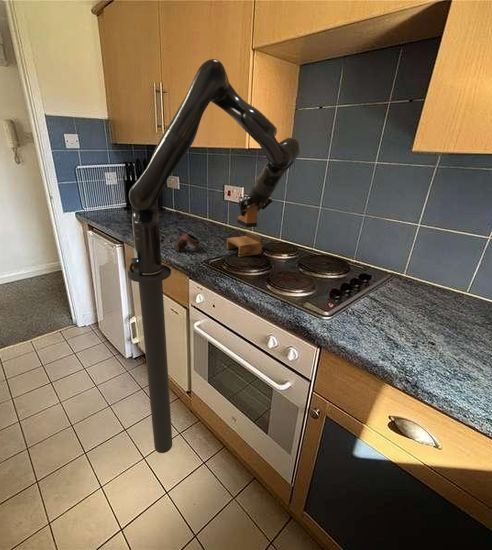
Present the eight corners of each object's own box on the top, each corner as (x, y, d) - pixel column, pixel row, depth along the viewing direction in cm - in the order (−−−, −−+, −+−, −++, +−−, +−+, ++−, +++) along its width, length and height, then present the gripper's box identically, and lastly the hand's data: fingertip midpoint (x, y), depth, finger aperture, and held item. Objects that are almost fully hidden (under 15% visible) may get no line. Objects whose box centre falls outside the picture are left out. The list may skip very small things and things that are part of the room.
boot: (256, 226, 123) (258, 201, 119) (246, 227, 121) (247, 202, 117) (247, 221, 130) (248, 198, 126) (237, 222, 129) (238, 198, 125)
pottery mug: (179, 246, 140) (188, 231, 138) (195, 258, 138) (204, 243, 136) (167, 247, 128) (177, 231, 126) (185, 260, 127) (194, 243, 125)
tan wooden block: (239, 257, 127) (240, 241, 124) (226, 248, 137) (226, 233, 134) (261, 253, 132) (262, 238, 129) (247, 245, 142) (247, 231, 139)
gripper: (277, 178, 113) (260, 205, 128) (243, 178, 108) (229, 207, 123) (284, 194, 110) (265, 220, 125) (249, 196, 105) (234, 222, 120)
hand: (247, 213), depth 124 cm, fingers closed on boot, 4 cm apart
